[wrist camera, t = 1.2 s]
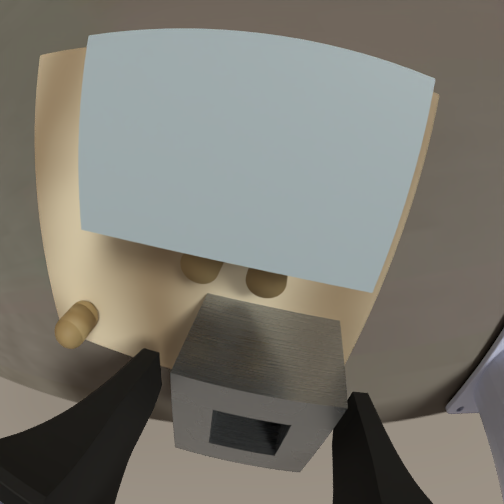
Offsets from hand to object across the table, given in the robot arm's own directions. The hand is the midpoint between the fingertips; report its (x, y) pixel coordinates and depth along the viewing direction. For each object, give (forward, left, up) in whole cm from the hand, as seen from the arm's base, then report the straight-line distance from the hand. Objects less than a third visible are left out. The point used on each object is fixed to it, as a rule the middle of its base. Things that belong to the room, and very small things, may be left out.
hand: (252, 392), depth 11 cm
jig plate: (+3, -4, -3) cm, 6 cm away
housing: (+1, -9, -2) cm, 9 cm away
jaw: (0, 0, -2) cm, 2 cm away
